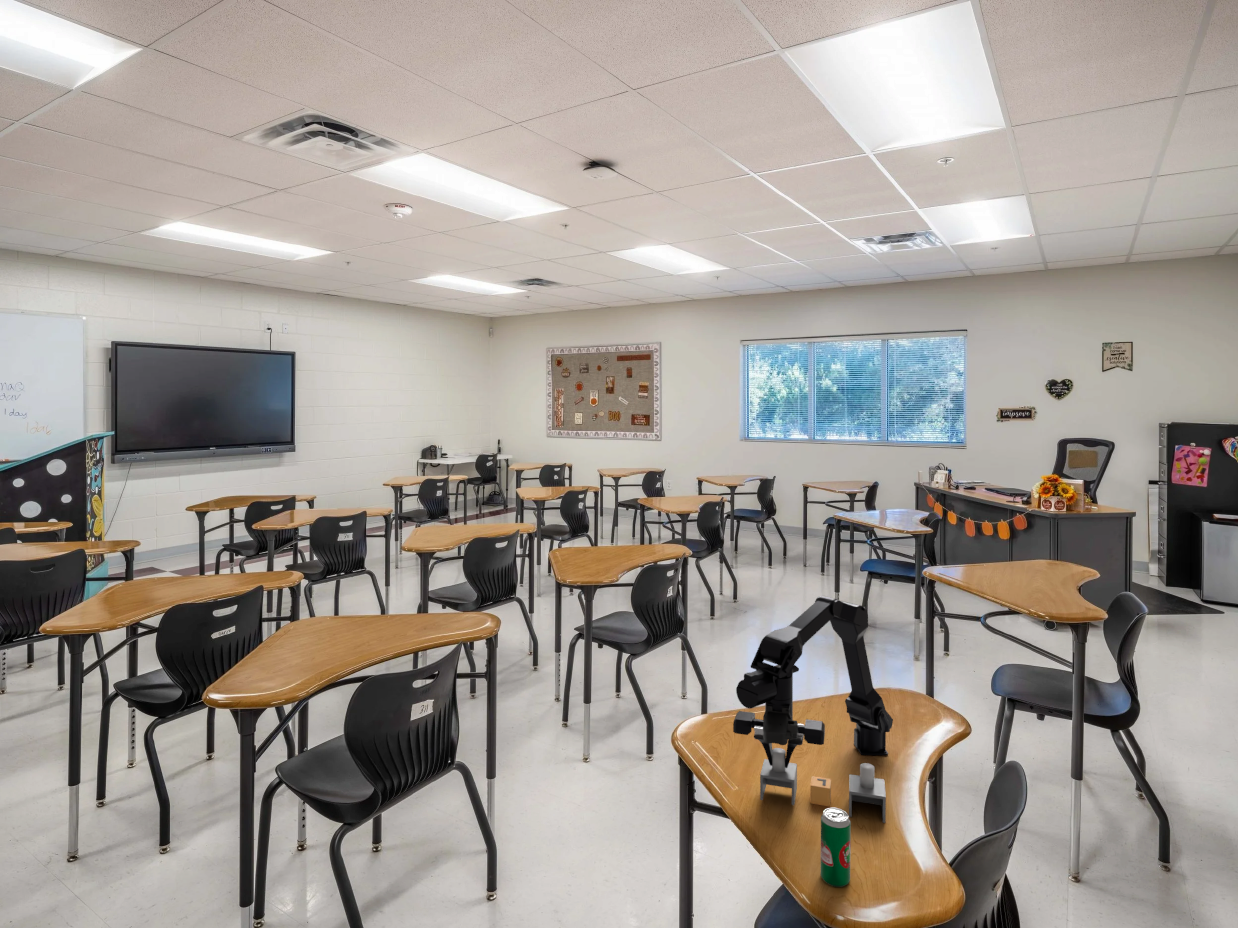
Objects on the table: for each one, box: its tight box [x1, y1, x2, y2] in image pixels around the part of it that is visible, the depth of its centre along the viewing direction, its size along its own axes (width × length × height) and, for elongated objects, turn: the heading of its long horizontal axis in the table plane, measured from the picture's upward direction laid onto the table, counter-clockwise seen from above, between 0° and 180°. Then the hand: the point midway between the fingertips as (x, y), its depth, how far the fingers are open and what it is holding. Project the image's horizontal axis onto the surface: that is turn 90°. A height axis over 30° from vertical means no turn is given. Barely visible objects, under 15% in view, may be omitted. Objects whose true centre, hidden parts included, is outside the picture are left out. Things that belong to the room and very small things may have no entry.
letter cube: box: [809, 775, 832, 807], centre depth 146 cm, size 4×4×4 cm
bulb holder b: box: [759, 747, 798, 806], centre depth 146 cm, size 7×7×10 cm
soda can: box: [820, 807, 852, 888], centre depth 121 cm, size 5×5×12 cm
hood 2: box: [848, 762, 887, 824], centre depth 142 cm, size 7×7×10 cm
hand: (778, 765), depth 146 cm, fingers closed on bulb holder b, 3 cm apart
